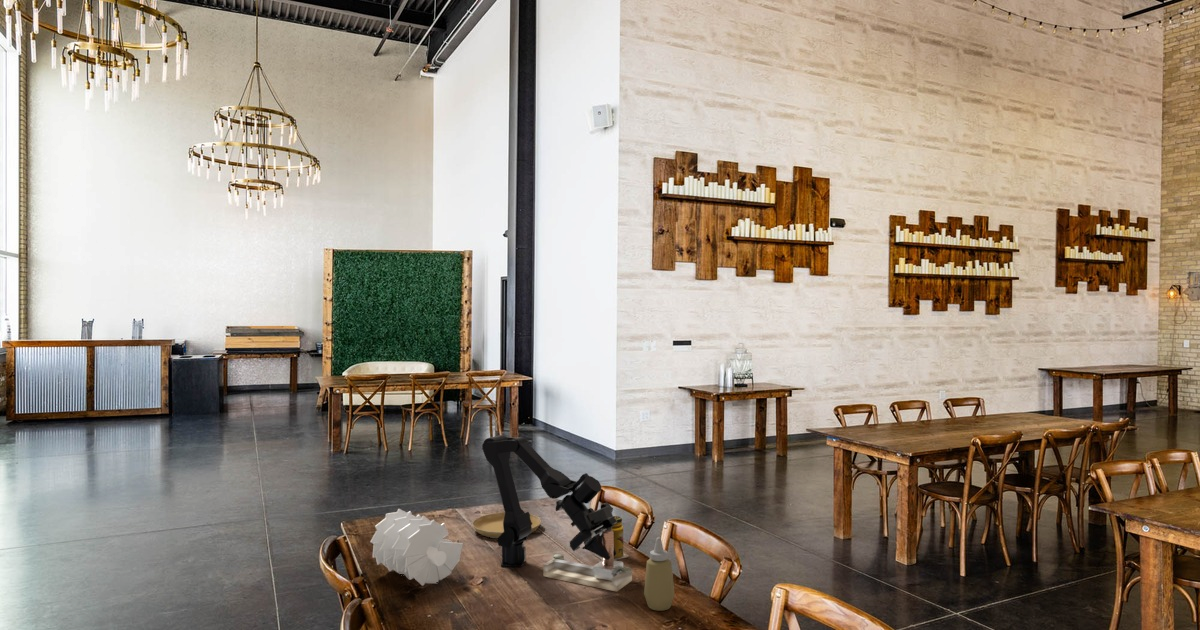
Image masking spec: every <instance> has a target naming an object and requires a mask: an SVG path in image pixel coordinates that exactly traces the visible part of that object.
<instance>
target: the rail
mask: <svg viewBox="0 0 1200 630" xmlns="http://www.w3.org/2000/svg"><path fill="white" fill-rule="evenodd" d="M542 565H543V566H542V568H543V572H542V573H543V575H542V576H543V577H545V578H546V577H547V578H550V579H556V580H559V581H560V580H561V581H565V582H569V583H573V584H577V585H578V584H579V585H583V586H588V587H593V588H599V589H603V590H607V591H612V592H619V591H620V590H621V589H622V588H624V587H626V585H628V584H630V583H631V582H632V581H633V574H632V573H633V569H632V568H631V567H629V566H623V568H621V571H622V572H621V571H617V572H616V573H615V577H613V578H612V581H609V580H604V579H600V578H595V572H593V566H594V565H589V564H584V563H579V562H574V561H569V560H565V555H563V554H561V553H559V554H557V553H556V554H553V557H552V559H550V560H548V561H547V562H544V563H543V564H542Z"/></svg>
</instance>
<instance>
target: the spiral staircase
mask: <svg viewBox="0 0 1200 630" xmlns="http://www.w3.org/2000/svg"><path fill="white" fill-rule="evenodd" d="M374 527H375V529H376V530H375V532H374V534H373V536H372V537H371V539H370V541H369V543H371V544H373V546H372V555H371V556H372V558H373V559H374V558H375V560H376V561H375V562H376V565H380V564H382V565H383V566H385V567H386V568H387V570H388V572H392V571H395V573H397V574H399V575H400V574H404V575H403V576H405V577H406V578H407V579H408V580H413V579H415V581H416V582H418V584H420V585H421V586H422V587H424V585H425V584H437V583H436V582H438V583H439V581H442V580H443V579H445V578H447V577H448V576H450V575H452V571H453V570H454V568H455V567H456V566H457V564H458V563H459V561H460V560H461V553H462V549H463V545H464V543H463V542H455V541H454V542H452V540H450V539H447V536H448V535H449V532H448V529H447V527H446V524H445V522H443V523H441V524H440V523H438V522H437V521H435V519H432V520H430V519H429V518H427V517H426V516H425V515H422V516H421V515H420V514H419V513H418V514H417V515H416V516H415V515H413V514H412V512H411V510H409V511H405V510H403V509H401V508H398V509H397V511H396V512H388V513H385V517H384V518H383V519H382V520H381V521H380V522H378V523H377V524H376V525H374ZM445 537H446V539H445Z"/></svg>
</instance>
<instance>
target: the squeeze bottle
mask: <svg viewBox="0 0 1200 630" xmlns="http://www.w3.org/2000/svg"><path fill="white" fill-rule="evenodd" d="M655 539H656V540H655V543H654V549H652V550H651V551H649V559H648V560H646V566H645V578H644V589H643V590H644V591H643V595H644V597H645V602H646V603H647V607H648V608H649V609H651V610H654V611H658V612H659V611H661V612H662V611H666V610H669V609H670V608H671V607H672V603H673V601H674V597H675V586H674V585H675V584H674V575H673V567H672V561H671V560H670V559H669V558H668V557H669V556H668V551H667V550H666V549H664V546H663V540H662V538H661V537H656V538H655Z"/></svg>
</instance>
